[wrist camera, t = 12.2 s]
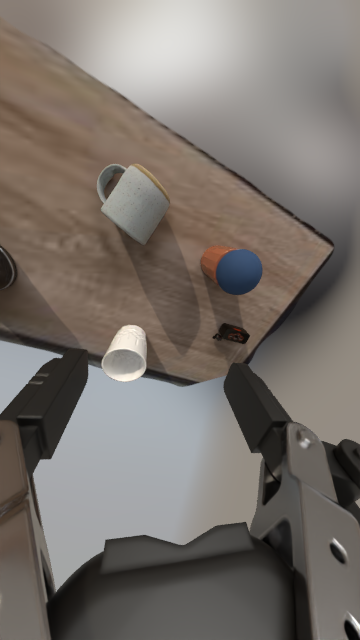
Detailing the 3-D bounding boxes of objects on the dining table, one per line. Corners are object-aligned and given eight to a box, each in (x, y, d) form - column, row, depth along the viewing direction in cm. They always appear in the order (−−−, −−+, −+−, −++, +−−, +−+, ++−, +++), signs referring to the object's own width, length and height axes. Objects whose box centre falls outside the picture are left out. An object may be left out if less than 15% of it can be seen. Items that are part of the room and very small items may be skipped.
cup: (197, 274, 35) (208, 286, 27) (205, 242, 33) (220, 244, 25) (224, 279, 36) (243, 292, 28) (234, 249, 34) (258, 253, 26)
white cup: (150, 348, 42) (148, 379, 33) (118, 352, 41) (107, 384, 33) (146, 320, 38) (143, 346, 30) (110, 323, 38) (96, 351, 29)
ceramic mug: (172, 204, 29) (175, 194, 22) (145, 245, 32) (141, 247, 25) (116, 151, 26) (99, 120, 19) (90, 202, 28) (67, 190, 21)
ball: (206, 284, 28) (217, 297, 23) (217, 243, 26) (233, 246, 20) (240, 290, 30) (260, 304, 24) (254, 252, 27) (280, 257, 21)
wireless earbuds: (219, 320, 41) (224, 327, 38) (244, 328, 43) (250, 334, 40) (211, 336, 43) (215, 344, 40) (235, 343, 44) (241, 350, 41)
